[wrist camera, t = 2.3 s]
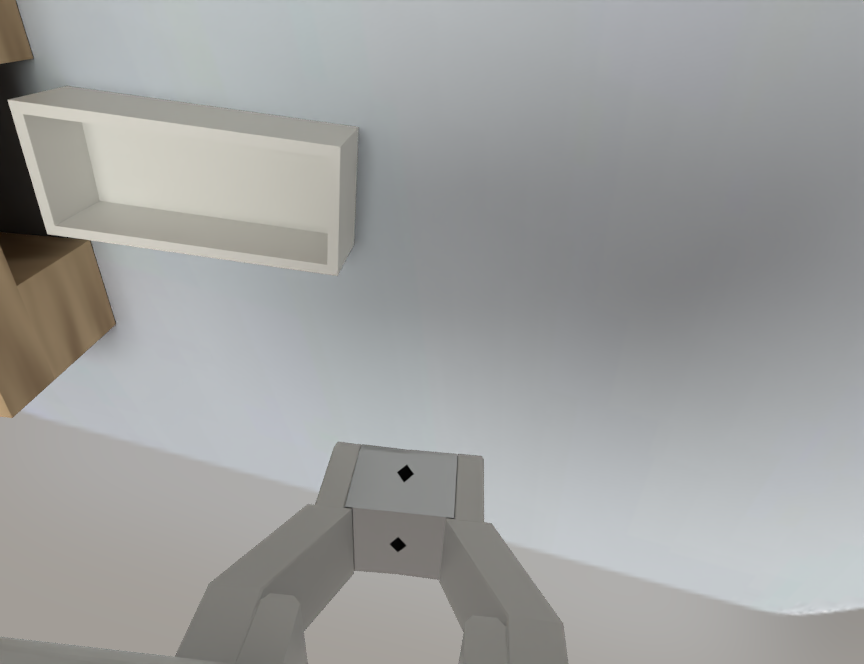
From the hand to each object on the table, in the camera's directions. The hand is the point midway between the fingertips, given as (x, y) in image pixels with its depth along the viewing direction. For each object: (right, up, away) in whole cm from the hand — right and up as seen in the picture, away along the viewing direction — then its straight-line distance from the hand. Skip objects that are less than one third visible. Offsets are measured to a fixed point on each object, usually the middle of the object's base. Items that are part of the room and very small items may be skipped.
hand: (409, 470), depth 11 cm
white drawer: (-10, +11, +16) cm, 22 cm away
